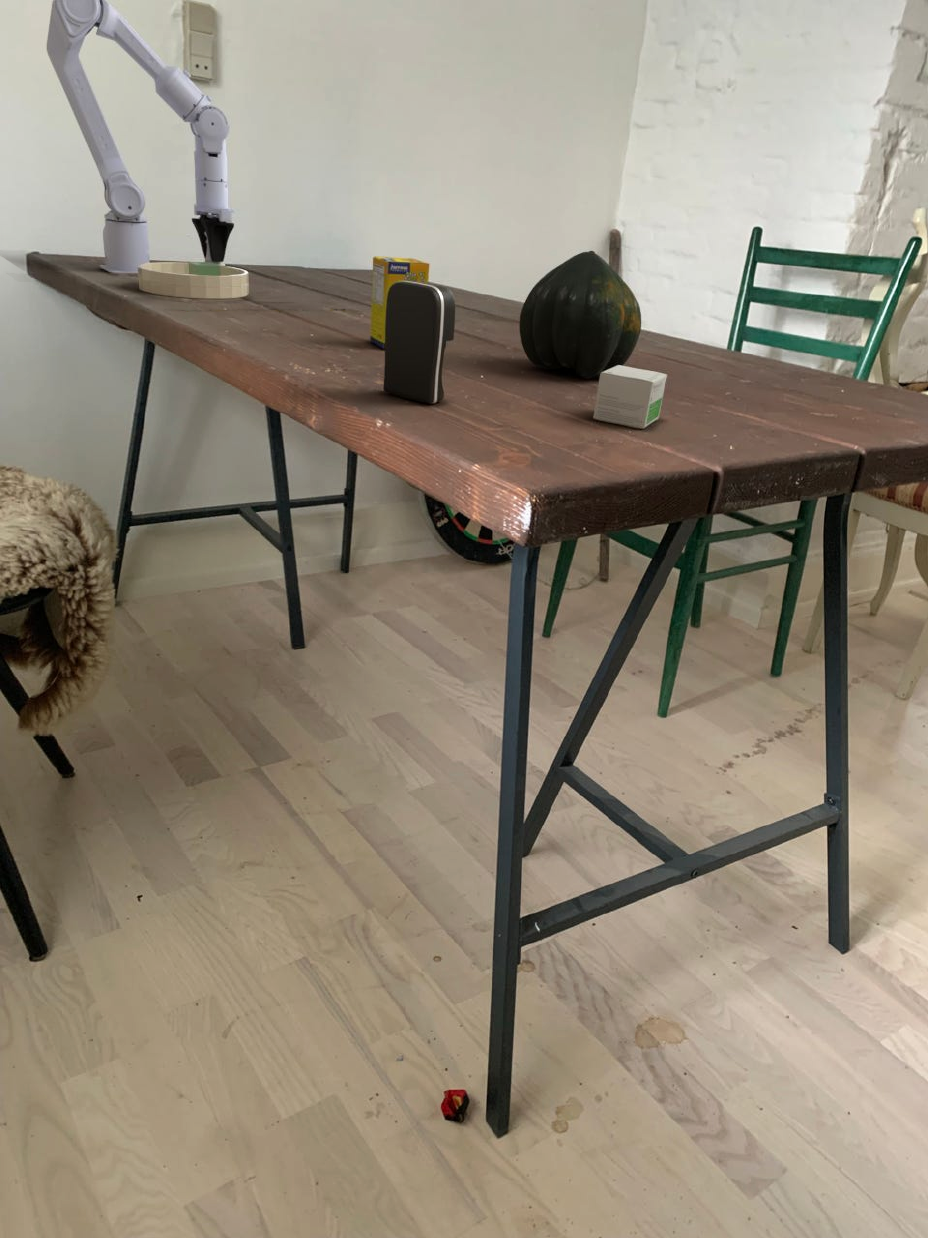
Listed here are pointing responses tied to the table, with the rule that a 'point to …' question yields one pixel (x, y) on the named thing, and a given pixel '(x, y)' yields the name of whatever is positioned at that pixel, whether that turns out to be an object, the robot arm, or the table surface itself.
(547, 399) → the table surface
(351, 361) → the table surface
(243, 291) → the bowl
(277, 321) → the table surface
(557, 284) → the squash
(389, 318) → the battery charger
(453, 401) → the table surface
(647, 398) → the small box
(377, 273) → the supplement box
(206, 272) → the block
